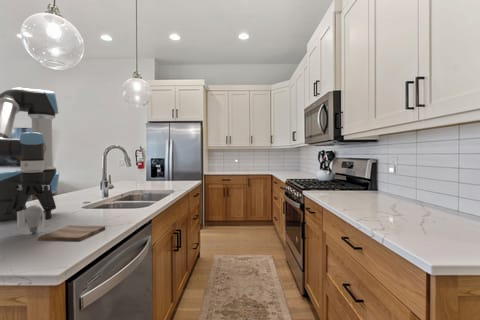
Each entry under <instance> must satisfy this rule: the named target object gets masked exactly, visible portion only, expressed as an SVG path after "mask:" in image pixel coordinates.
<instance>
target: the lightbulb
mask: <svg viewBox="0 0 480 320" xmlns="http://www.w3.org/2000/svg"><path fill="white" fill-rule="evenodd" d="M43 211H44V209H43V208H42V207H40V205H39V206H38V205H30V206H27V207H26V210H25V211H24V217H25V221H27V224H28V229H29V232H30V233H31V234H36V233H37V232H38V230H39V229H38V228H39V224H40V221H41V218H42V212H43Z"/></svg>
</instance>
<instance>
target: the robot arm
mask: <svg viewBox="0 0 480 320" xmlns="http://www.w3.org/2000/svg"><path fill="white" fill-rule="evenodd" d="M56 97H57V96H56V94H55V92H54V91H51V90H45V89H37V88H36V89H35V88H25V87H24V88H23V87H13V88H9V89H7V90H4V91H3V92H1V93H0V158H1V157H5V158H7V157H15V158H17V157H20V169H18V170H10V171H1V172H0V222H3V221H5V222H6V221H14V220H17V221H16V223H17V226H16V228H17V229H20V228H23V227H26V219H25V217H24V211H25V210H26V208H27V202H28V200H29V198H30V197H31V196H34V197H35V198H37V200H38V202H39V204H40V206H41V208H42V210H43V212H42V217H41V218H42V229H44V230H45V229H47V228H50V227H51V219H52V211H53V210H56V209H57V206H56V203H55V199H54V195H53V194H55V193H56V192H57V191H58V185H59V178H60V171H58V170H57V168H56V167H55V166H54V165H53V162H54V161H53V160H54V159H53V120H54V119H55V118H56V115H57V114H59V109H58V103H57V98H56ZM19 112H23V113H25V112H26V113H27V116H28V117H29V118H30V119H31V131H30V132H29V131H28V132H27V131H25V132H21V133H20V137H19V138H11V137H12V132H13V127H14V124H15V119H16V115H17V114H18V113H19Z"/></svg>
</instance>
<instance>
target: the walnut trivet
mask: <svg viewBox="0 0 480 320" xmlns="http://www.w3.org/2000/svg"><path fill="white" fill-rule="evenodd" d="M104 230H106V226H105V225H72V224H71V225H67V226H64V227H61V228H59V229H56V230H53V231H50V232H48V233H44V234H42V235H39V236H37V240H38V241H61V242H62V241H63V242H64V241H65V242H67V241H68V242H71V241H72V242H80V241H83V240H85V239H87V238H89V237H92V236H93V235H95V234H98V233H100V232H102V231H104Z"/></svg>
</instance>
